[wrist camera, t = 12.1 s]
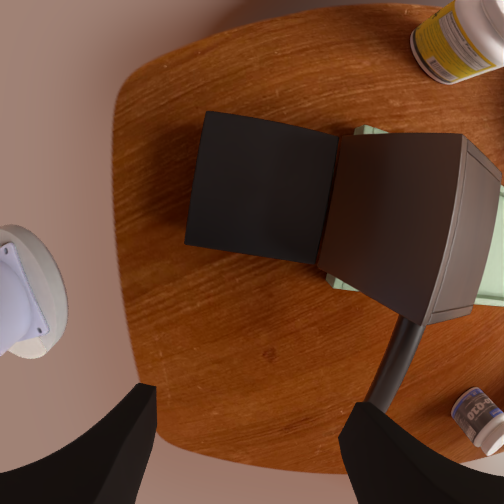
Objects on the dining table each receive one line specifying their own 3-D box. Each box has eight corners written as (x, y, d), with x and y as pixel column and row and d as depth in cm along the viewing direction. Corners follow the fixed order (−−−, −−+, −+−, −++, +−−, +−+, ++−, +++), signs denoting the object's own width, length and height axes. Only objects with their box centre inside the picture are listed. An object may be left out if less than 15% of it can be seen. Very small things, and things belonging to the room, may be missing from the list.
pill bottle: (480, 379, 23) (520, 417, 15) (476, 402, 24) (511, 439, 16) (450, 401, 24) (488, 446, 15) (448, 422, 25) (481, 464, 16)
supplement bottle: (443, 30, 15) (515, -8, 5) (466, 86, 16) (550, 64, 7) (397, 25, 15) (470, -32, 5) (422, 85, 16) (515, 50, 7)
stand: (193, 233, 18) (183, 244, 14) (211, 123, 16) (205, 109, 13) (301, 250, 18) (315, 265, 15) (320, 144, 17) (339, 136, 14)
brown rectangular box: (355, 455, 10) (416, 423, 12) (462, 133, 7) (502, 173, 9) (287, 376, 17) (348, 364, 19) (342, 135, 14) (401, 160, 16)
